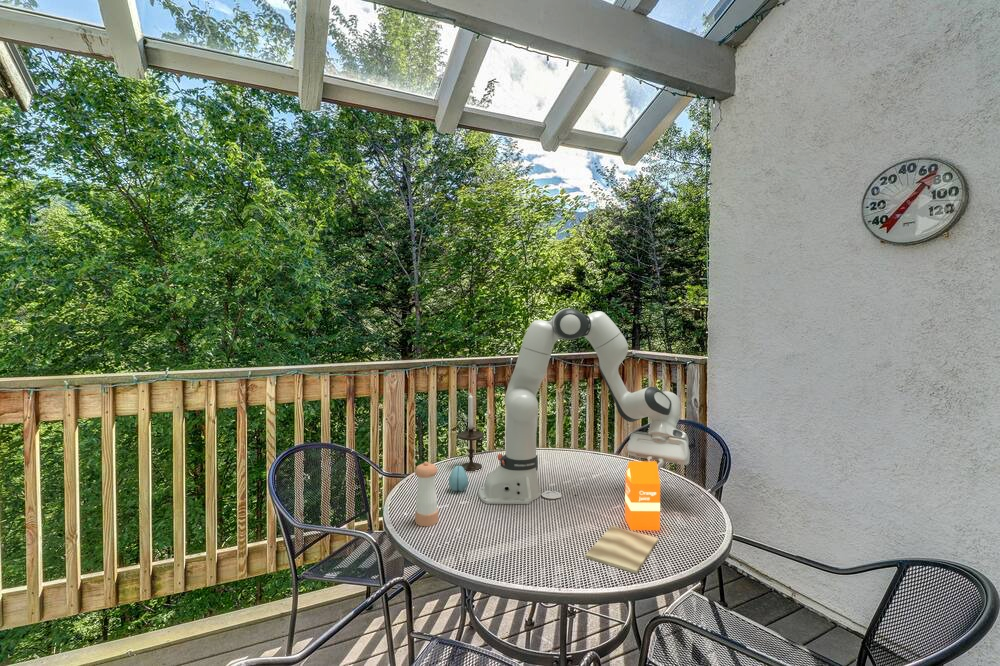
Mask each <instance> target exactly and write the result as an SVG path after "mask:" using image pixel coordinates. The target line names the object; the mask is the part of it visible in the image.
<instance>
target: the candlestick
mask: <svg viewBox="0 0 1000 666" xmlns="http://www.w3.org/2000/svg"><path fill="white" fill-rule="evenodd" d="M468 390H469V391H468V392H469V396H467V397H468V398H467V399H468V401H467V404H468V408H467V409H468V414H467V415H468V426H467V427H466V428H465V429H467V431H461V432H458V434H457V438H458V440H462V441H467V442H468V441H469V449H467V453H468V456H467V457H468V458H469V462H464V463H462V464H461V465H460V466H462V467H463V468H464V470H466V471H475V470H479V469H481V468H482V469H483V465H482V464H481V463H479V462H474V457H475V455H474V453H475V449H474V448H473V447H474V445H473V443H474V442H473V441H478V440H482V439H484V437H485V434H484V432H483V431H478V430H475V429H476V427H474V396H473V395H472V387H471V386H469V389H468ZM482 469H481V470H482ZM479 471H480V470H479Z"/></svg>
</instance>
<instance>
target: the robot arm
mask: <svg viewBox="0 0 1000 666" xmlns="http://www.w3.org/2000/svg"><path fill="white" fill-rule="evenodd" d="M579 338H585V339H586V340H587V341H588V342H589V344H590V345H591V347H592V348H593V350H594V351H595V353H596V356H597V357H598V361H599V362H598V368H599V369H598V370H599V371H600V374H601V376H602V378H603V380H604V382H605V384H606V387H607V388H608V390H609V392H610V395H611V396H612V399H613V401H614V403H615V406H616V409H617V412H618V414H619V416H620V417H621V418H622V419H623V420H625V421H626V422H629V423H634V422H637V421H639V420H642V419H643V418H650V419H651V422H650V425H649V428H648V431H647V432H646V431H638V430H636V431H633V432H631V434H630V437H629V442H628V443H627V446H626V451H627V454H628V455H629V457H636V458H640V459H641V458H642V459H647V461H657V467H658V473H659V471H660V469H661V467H663V466H664V464H665V463H668V464H669V463H671V464H676V465H681V466H682V465H683V466H687V465H689V463H690V458H691V457H690V456H691V455H690V454H691V453H690V452H691V451H690V447H689V445H690V444H689V442H690V441H689V437H688V435H687V433H686V432H685V431H682V430H680V429H677V428H678V427H677V424H678V423H679V419H680V416H681V415H680V414H681V399H680V396H678V395H677V394H676V393H674V392H672V391H669V390H668V391H667V390H665V391H662V390H661V389H660V388H657V387H656V386H649V387H644V388H642V389H639V390H636V391H634V392H631V391H629V390H628V388H627V387H626V385H625V383H624V381H623V379H622V378H621V375H620V373H619V368H620V365H621V364H622V363H623V361H624V360H625V359H626V357H627V355H628V352H629V345H628V341H627V339H626V337H625V336H624V334H623V333H622V332H621V330H620V329H619V327H618V326H617V324H616V323H615V322H614V321H613V320H612V318H610V317H609V316H608V315H607V314H606V313H605V312H604V311H601V310H600V311H599V310H598V311H597V310H596V311H593V312H591V313H589V314H585V313H583V312H581V311H579V310H577V309H574V308H571V307H566V308H562V309H560V310H558V311H557V312H556V313H555V314H554V315H553V316H552V317H551V318H550V319H549V320H544V319H537V320H534V321H532V322H531V323H530V324H529V326H528V327H527V329H526V333H525V334H524V337H523V340H522V343H521V345H520V350H519V353H518V356H517V360H516V363H515V366H514V368H513V372H512V375H511V377H510V380H509V383H508V385H507V389H506V392H505V395H504V403H505V410H506V419H505V420H506V423H505V454H504V455H503V454H502V453H499V454H497V459H498V461H499V462H500V465H499V466H497V467H496V468H494V470H492V471H491V472H490V473H488V474H487V475H486V477H485V481H484V486H480V488H479V489H478V497H480V498H479V499H480V500H481V502H483V503H485V504H487V505H529V504H531V503H532V501H535V500H536V499H538V498H539V497H541V495H542V492H541V490H540V485H539V479H538V468H539V460H538V458H539V457H538V455H537V431H538V419H539V417H538V416H539V401H538V398H537V395H538V392H539V390H540V387H541V384H542V382H543V380H544V378H545V377H546V373H547V370H548V366H549V362H550V358H551V356H552V352H553V348H554V346H555V344H556V342H557V341H558V340H559V339H562V340H568V341H570V340H576V339H579Z"/></svg>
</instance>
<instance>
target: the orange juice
mask: <svg viewBox="0 0 1000 666" xmlns="http://www.w3.org/2000/svg"><path fill="white" fill-rule="evenodd" d="M657 464H658V460H653V461H648V460H647V461H641V460H640V461H639V460H638V461H636V460H635V461H628V463H627V468H626V472H625V481H624V482H625V483H624V484H625V488H624V489H625V491H624V492H625V493H624V506H625V507H624V508H625V509H624V519H625V521H626V523H627V525H628V527H629V530H630V531H660V530H661V529H660V528H661V527H660V526H661V481H660V480H661V479H660V474H659V472H658V467H657Z"/></svg>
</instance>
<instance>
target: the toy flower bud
mask: <svg viewBox="0 0 1000 666" xmlns="http://www.w3.org/2000/svg"><path fill="white" fill-rule="evenodd" d="M468 485H469V477H468V475H467V472H465V470H464V468H463V467H462V466H461V465H456V466H454V467H453V469H452V471H451V473H450V475H449V477H448V486H449V487H450V489H451V490H452V491H453V492H458V491H459V492H464V491H465V490H466V489H467V487H468ZM463 490H464V491H463Z"/></svg>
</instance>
